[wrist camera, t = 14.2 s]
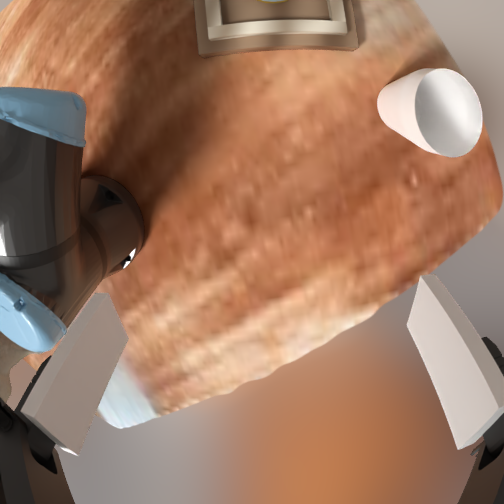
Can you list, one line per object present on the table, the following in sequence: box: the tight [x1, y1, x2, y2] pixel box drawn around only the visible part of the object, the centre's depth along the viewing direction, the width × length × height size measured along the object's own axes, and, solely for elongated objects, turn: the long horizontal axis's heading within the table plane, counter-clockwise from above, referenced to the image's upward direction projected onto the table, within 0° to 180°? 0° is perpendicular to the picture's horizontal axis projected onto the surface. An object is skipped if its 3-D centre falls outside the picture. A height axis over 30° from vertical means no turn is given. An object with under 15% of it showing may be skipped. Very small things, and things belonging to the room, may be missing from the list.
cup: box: [377, 68, 482, 157], centre depth 24 cm, size 9×9×12 cm
